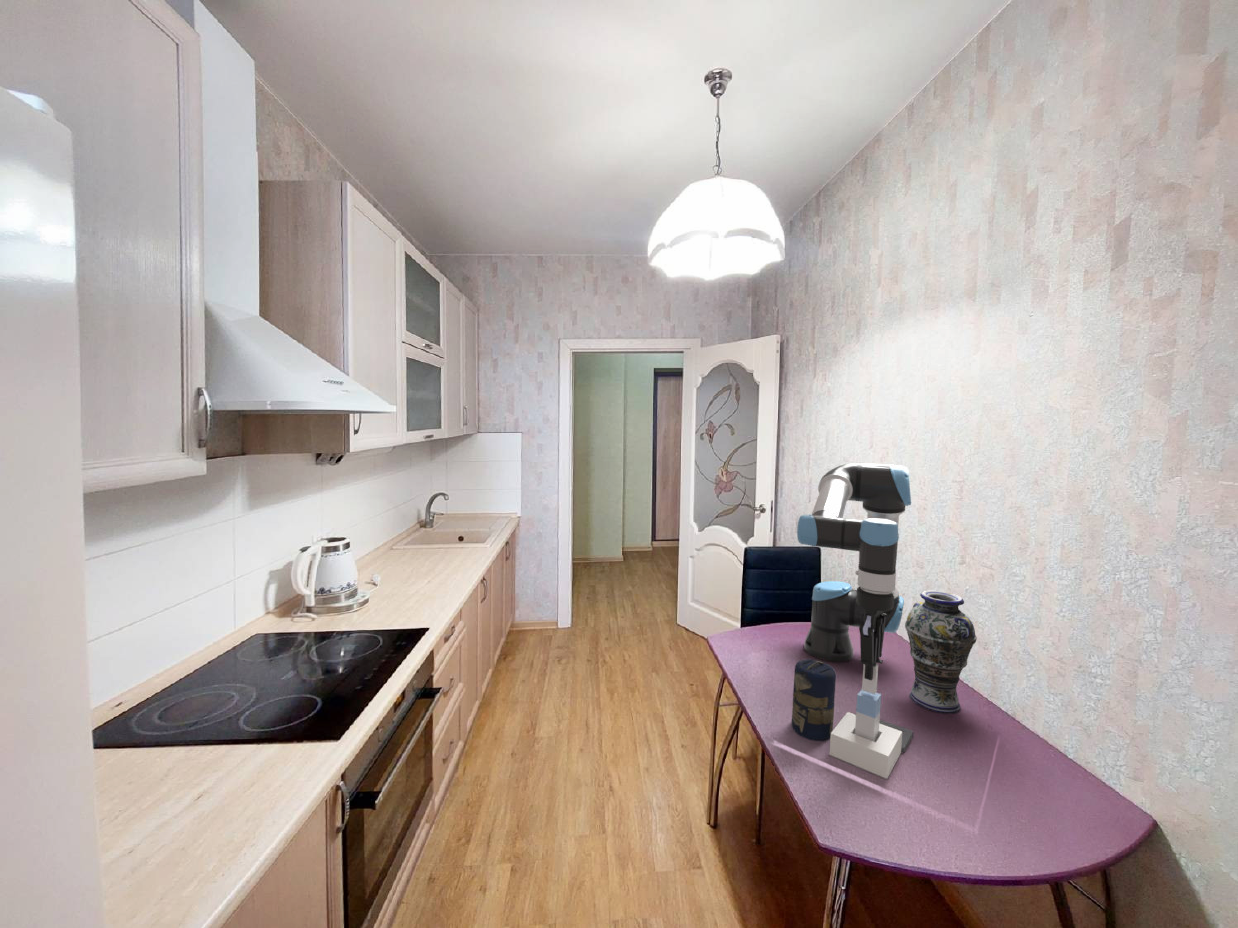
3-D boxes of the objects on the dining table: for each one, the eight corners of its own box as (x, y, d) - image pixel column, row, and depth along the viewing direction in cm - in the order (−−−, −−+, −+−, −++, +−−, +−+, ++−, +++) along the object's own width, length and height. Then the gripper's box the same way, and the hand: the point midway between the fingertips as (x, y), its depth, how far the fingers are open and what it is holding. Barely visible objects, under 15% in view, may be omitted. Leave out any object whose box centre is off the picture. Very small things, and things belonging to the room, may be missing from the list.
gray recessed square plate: (873, 724, 133) (873, 716, 133) (912, 738, 127) (913, 731, 127) (862, 740, 126) (862, 732, 126) (903, 756, 120) (904, 748, 120)
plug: (859, 745, 122) (862, 687, 121) (877, 752, 120) (881, 694, 119) (853, 753, 119) (857, 694, 118) (872, 761, 117) (876, 700, 116)
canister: (783, 725, 132) (786, 656, 130) (814, 718, 135) (817, 651, 134) (808, 747, 123) (812, 673, 121) (841, 740, 126) (845, 668, 125)
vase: (943, 724, 134) (951, 610, 131) (885, 691, 149) (892, 589, 147) (986, 712, 140) (995, 602, 137) (927, 682, 156) (934, 583, 153)
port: (846, 735, 128) (847, 711, 128) (900, 756, 120) (902, 731, 120) (829, 758, 119) (830, 733, 119) (886, 782, 111) (888, 756, 111)
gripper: (866, 579, 124) (860, 675, 126) (848, 591, 114) (842, 696, 116) (901, 586, 119) (894, 686, 121) (886, 600, 109) (879, 708, 111)
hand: (869, 690), depth 118 cm, fingers closed
